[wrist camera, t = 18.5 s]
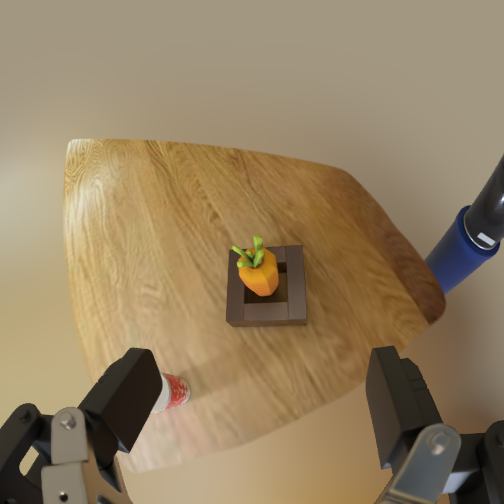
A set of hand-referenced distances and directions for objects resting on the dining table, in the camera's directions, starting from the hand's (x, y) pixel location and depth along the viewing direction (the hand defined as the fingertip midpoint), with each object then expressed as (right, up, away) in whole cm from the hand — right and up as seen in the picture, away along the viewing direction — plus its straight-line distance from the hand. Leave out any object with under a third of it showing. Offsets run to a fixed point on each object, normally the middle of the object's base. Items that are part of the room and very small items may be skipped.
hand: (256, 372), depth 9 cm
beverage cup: (-12, -17, +29) cm, 35 cm away
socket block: (+2, -2, +33) cm, 34 cm away
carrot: (+2, -2, +34) cm, 34 cm away
